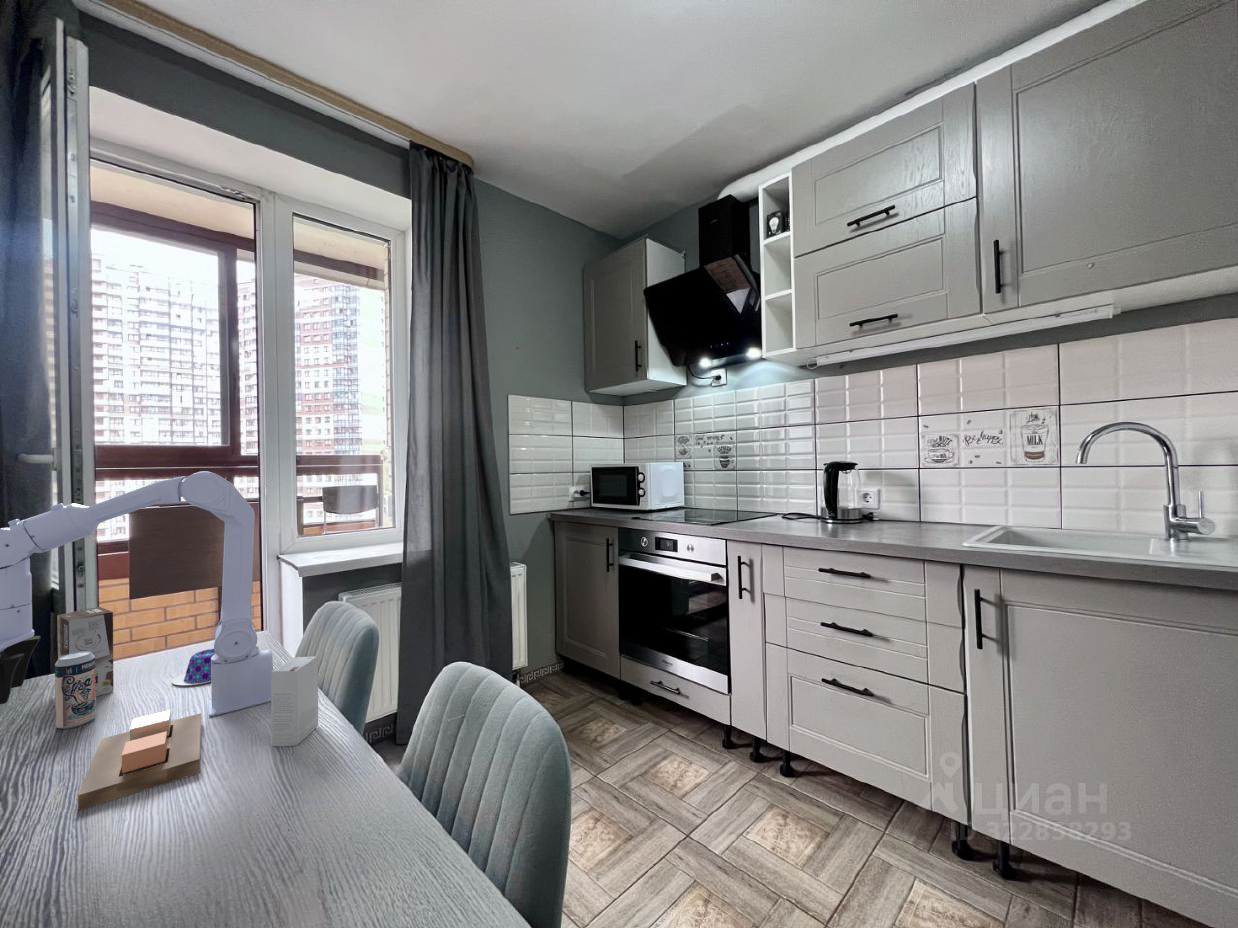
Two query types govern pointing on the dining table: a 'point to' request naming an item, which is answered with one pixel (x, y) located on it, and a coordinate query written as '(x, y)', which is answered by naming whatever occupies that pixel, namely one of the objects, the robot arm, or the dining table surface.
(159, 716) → the metal button
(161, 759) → the terracotta button
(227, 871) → the dining table surface
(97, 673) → the coffee box
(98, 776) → the button board
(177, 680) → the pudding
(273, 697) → the skincare box
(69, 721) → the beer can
